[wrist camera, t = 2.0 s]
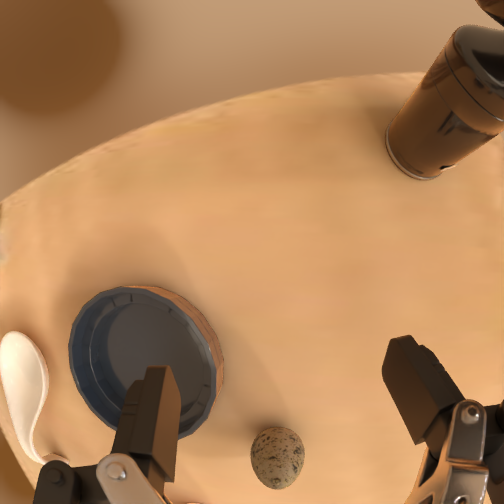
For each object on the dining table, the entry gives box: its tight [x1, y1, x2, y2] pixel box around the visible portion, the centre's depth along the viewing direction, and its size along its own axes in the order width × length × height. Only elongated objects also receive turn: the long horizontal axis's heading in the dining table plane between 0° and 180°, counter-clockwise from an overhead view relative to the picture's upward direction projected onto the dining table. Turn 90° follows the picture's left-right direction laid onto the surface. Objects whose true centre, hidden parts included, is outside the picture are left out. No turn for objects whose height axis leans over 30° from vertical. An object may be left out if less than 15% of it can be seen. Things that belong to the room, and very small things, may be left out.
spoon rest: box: [0, 331, 69, 465], centre depth 30 cm, size 24×12×7 cm, turn 5°
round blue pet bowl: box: [68, 286, 224, 440], centre depth 30 cm, size 18×18×5 cm
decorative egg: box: [251, 427, 305, 489], centre depth 26 cm, size 6×6×10 cm
